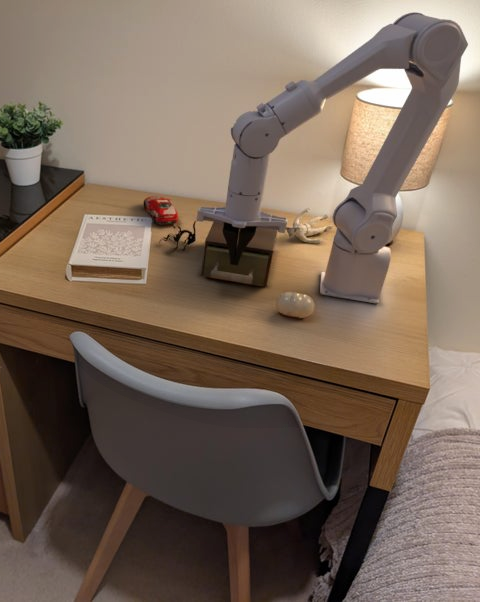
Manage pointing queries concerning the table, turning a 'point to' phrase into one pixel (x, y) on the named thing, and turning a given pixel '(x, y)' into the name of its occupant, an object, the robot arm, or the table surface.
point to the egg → (295, 304)
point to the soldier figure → (307, 228)
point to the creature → (190, 239)
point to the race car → (161, 210)
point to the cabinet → (259, 243)
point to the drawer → (235, 266)
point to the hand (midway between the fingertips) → (234, 262)
